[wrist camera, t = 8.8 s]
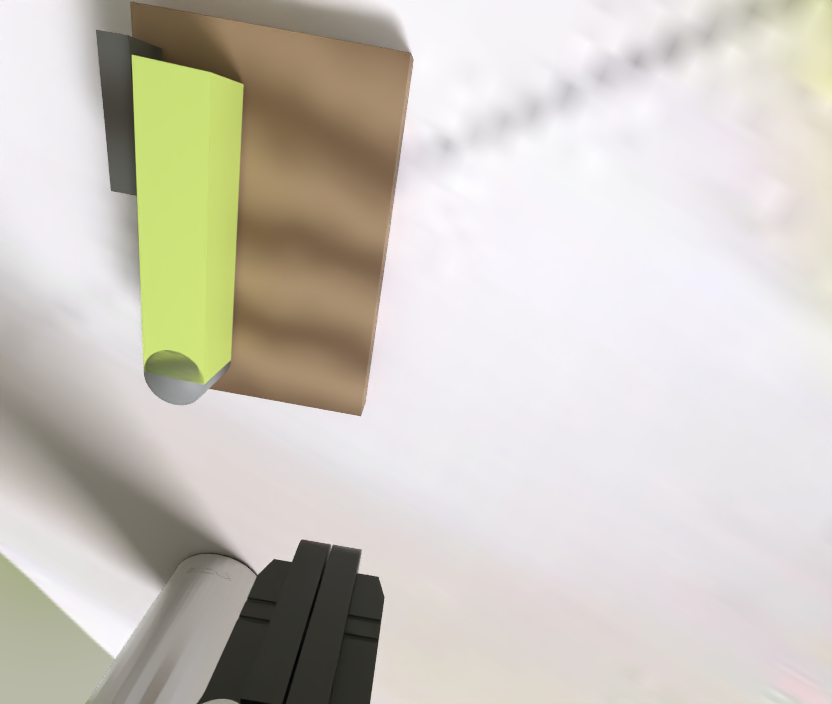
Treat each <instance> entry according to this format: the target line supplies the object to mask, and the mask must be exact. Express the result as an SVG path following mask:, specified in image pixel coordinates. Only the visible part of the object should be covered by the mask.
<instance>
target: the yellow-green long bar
mask: <svg viewBox="0 0 832 704" xmlns="http://www.w3.org/2000/svg"><path fill="white" fill-rule="evenodd" d="M132 75H133V102H134V128H135V154H136V180H137V206H138V233H139V259H140V285H141V311H142V337H143V364H144V377H145V380H146V383H147V385H148V386H149V388H150V389H151V390H152V392H153V393H154V394H155V395H156V396H158V397H159V398H160V399H162V400H164V401H166V402H168V403H171V404H175V405H187V404H190V403H193V402H195V401H196V400H197V399H198V398H200V397H201V396H202V395H203V394H204V393H205V392H206V391H207V390H208V389H209V388H210V387H211V386H212V385H213V384H214V383H215V382H216V381H217V380H219V379H220V378H221V377H222V376H223V375H224V374H225V373H226V372H227V370H228V369H229V367H230V363H231V348H232V326H233V304H234V283H235V261H236V239H237V217H238V195H239V174H240V152H241V130H242V108H243V87H244V84H241V83H239V82H236V81H233V80H230V79H228V78H225V77H222V76H219V75H217V74H214V73H211V72H207V71H203V70H198V69H194V68H189V67H185V66H180V65H176V64H171V63H167V62H162V61H158V60H154V59H149V58H145V57H140V56H136V55H132Z"/></svg>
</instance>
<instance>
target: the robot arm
mask: <svg viewBox="0 0 832 704" xmlns="http://www.w3.org/2000/svg"><path fill="white" fill-rule="evenodd" d="M361 551H362V550H360V549H355V548H349V547H343V546H337V545H333V546H332V548H331V544H325V543H319V542H313V541H308V540H301V541H300V543H299V545H298V548H297V551H296V553H295V556H294V559H293V561H292V562H288V561H282V560H276V559H274V560H273V561H272V562H271V563H270V564H269V565H268V566H267V567H266V568H264V569H263V570H262V571H261V572H260V573H259V574H258V575H257V576H256V575H255V574H254V573H253V572H252V571H251V570H250V569H249V568H248V567H246V566H245V565H243V564H242V563H240V562H238V561H236V560H234V559H232V558H229V557H226V556H222V555H217V554H199V555H195V556H191V557H189V558H187V559H185V560H184V561H183V562H182V563H180V564H179V566H178V567H177V569H176V570H175V572H174V573H173V574H172V576H171V577H170V579H169V580H168V582H167V583H166V585H165V586H164V588H163V589H162V591H161V592H160V594H159V595H158V597H157V598H156V600H155V601H154V602H153V604H152V605H151V607H150V608H149V610H148V611H147V613H146V614H145V616H144V617H143V619H142V620H141V622H140V623H139V625H138V626H137V628H136V629H135V631H134V632H133V634H132V635H131V637H130V638H129V640H128V641H127V643H126V644H125V646H124V647H123V649H122V650H121V652H120V653H119V654H118V656H117V657H116V659H115V660H114V662H113V664H112V665H111V666H110V668H109V669H108V671H107V673H106V674H105V676H104V677H103V679H102V680H101V681H100V683H99V684H98V686H97V687H96V689H95V690H94V692H93V693H92V695H91V696H90V698H89V699H88V701H87V702H86V704H370V699H371V692H372V684H373V677H374V670H375V663H376V655H377V648H378V640H379V633H380V626H381V619H382V612H383V604H384V594H383V591H382V588H381V584H380V581H379V577H375V576H370V575H364V574H358V570H359V564H360V558H361Z"/></svg>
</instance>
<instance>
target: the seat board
mask: <svg viewBox="0 0 832 704" xmlns="http://www.w3.org/2000/svg"><path fill="white" fill-rule="evenodd" d="M130 4H131V19H132V34H133V37H131V36H128V35H122V34H117V33H111V32H106V31H100V30H96V33H97V44H98V55H99V66H100V76H101V87H102V98H103V109H104V120H105V130H106V141H107V152H108V163H109V174H110V184H111V191H114V192H120V193H125V194H131V195H137V180H136V154H135V128H134V102H133V75H132V55H136V56H140V57H145V58H149V59H154V60H158V61H162V62H167V63H171V64H176V65H180V66H185V67H189V68H194V69H198V70H203V71H207V72H211V73H214V74H217V75H219V76H222V77H225V78H228V79H230V80H233V81H236V82H239V83H241V84H244V87H243V108H242V130H241V152H240V174H239V195H238V217H237V239H236V261H235V283H234V304H233V326H232V348H231V363H230V367H229V369H228V370H227V372H226V373H225V374H224V375H223V376H222V377H221V378H220V379H219V380H217V381H216V382H215V383H214V384H213V385H212V386H211V387H210V388H209V389H214V390H219V391H225V392H230V393H236V394H241V395H247V396H252V397H258V398H263V399H269V400H274V401H280V402H286V403H291V404H297V405H302V406H308V407H313V408H319V409H324V410H330V411H335V412H341V413H346V414H352V415H357V416H361V414H362V411H363V408H364V405H365V401H366V394H367V387H368V380H369V373H370V366H371V359H372V352H373V344H374V337H375V330H376V323H377V316H378V309H379V302H380V295H381V288H382V280H383V273H384V266H385V259H386V252H387V245H388V238H389V231H390V224H391V216H392V209H393V202H394V195H395V188H396V181H397V174H398V167H399V160H400V152H401V145H402V138H403V131H404V124H405V117H406V110H407V103H408V96H409V88H410V81H411V74H412V67H413V57H412V54H411V53H409V52H404V51H398V50H393V49H387V48H382V47H376V46H371V45H365V44H360V43H354V42H349V41H343V40H338V39H332V38H327V37H321V36H316V35H310V34H305V33H299V32H294V31H288V30H283V29H278V28H272V27H267V26H261V25H256V24H250V23H245V22H239V21H234V20H228V19H223V18H217V17H212V16H206V15H201V14H195V13H190V12H184V11H179V10H173V9H168V8H162V7H157V6H151V5H146V4H140V3H135V2H130Z"/></svg>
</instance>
